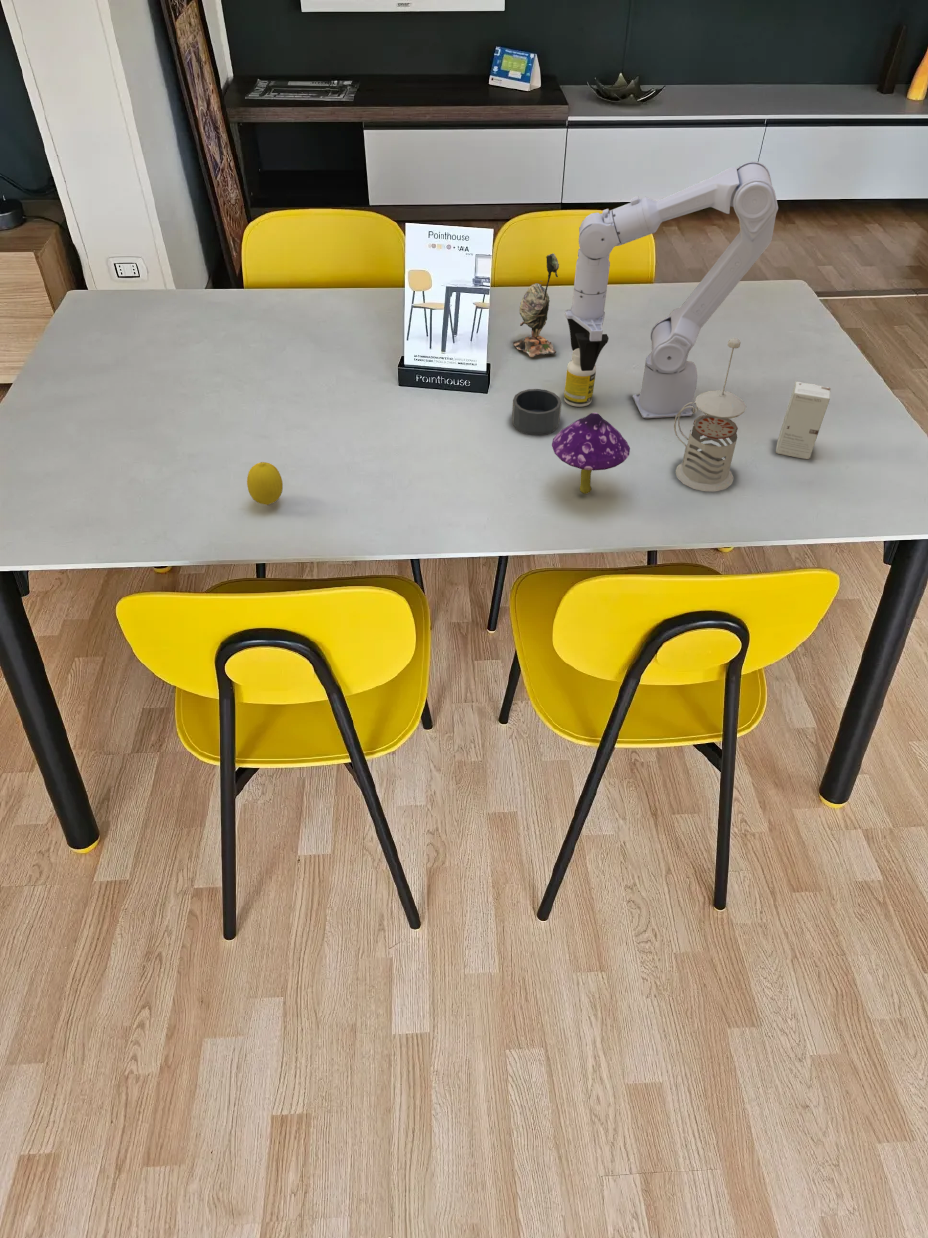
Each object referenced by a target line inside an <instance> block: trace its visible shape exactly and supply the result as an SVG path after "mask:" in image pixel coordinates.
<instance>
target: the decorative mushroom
mask: <svg viewBox="0 0 928 1238" xmlns="http://www.w3.org/2000/svg"><path fill="white" fill-rule="evenodd" d="M551 448H552V450H553V453H554V454H555V456H556V457H557V458H558V459H559V460H560V461H561V462H563V463H564V464H567V465H568V466H570V467H573V468H576V469H579V470H580V482H579V483H580V484H579V491H580V493H582V495H583V494H584V495H588V494H589V493H590V494H591V492H592V486H591V484H592V483H591V480H592V472H593V471H605V470H606V471H607V470H610V469H613V468H616V467H618V466H619V465H621V464H623V463H624V462H625V461H626V460H627V459H628V458H629V456H630V453H631V447H630V445H629V443H628V441H627V439H625V438H624V437H623V435H622V433H621V432H620V431H619V430H618V429H617V428H616V427H615V426H613V425H612V423H610V422H609V421H607V419H604V418H603V417H602V415H601V414H599V413H598V412H591V413H588V414H587V415H586V416H584V417H581V418H579V419H577V420H575V421H574V422H572V423H570V424H569V425H568V426H566V427H564V428H562V429H561V430H559V432H557V434H556V435H555V436H554V437H553V438H552V442H551Z"/></svg>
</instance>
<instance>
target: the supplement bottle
mask: <svg viewBox="0 0 928 1238" xmlns="http://www.w3.org/2000/svg"><path fill="white" fill-rule="evenodd" d="M596 373H597V365H596V364H595V366H594V368H593V370H592V371H582V370H581V367H580V350H579V348H577V349H575V350H574V351H573V350H572V354H571V360H570V361H569V362H568V363H567V366H566V373H565V384H564V390H563V391H564V392H563V400H564V402H565V403H566V404H567V405H568V406H572V407H578V408H581V407H582V408H583V407H586V406H589V405H590V404H591V403H592V401H593V396H594V388H595V383H596V382H595V381H596Z"/></svg>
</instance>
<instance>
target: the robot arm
mask: <svg viewBox="0 0 928 1238" xmlns="http://www.w3.org/2000/svg"><path fill="white" fill-rule="evenodd" d="M732 207H733V210H734V212H735V215H736V217H737V219H738V222H739V232H738V233H737V234H736V236H735V237H734V238H733V239H732V241H731V242H730V244H729V245H728V246H727V247H726V248H725V250H724V251H723V252H722V253H721V255H720V256H719V258H718V259H717V260H716V261H715V263H713V265H712V266H711V268H710V269H709V270H708V272H706V274H705V275H704V276H703V278H702V279H701V280H700V281H699V283H698V284H697V286H695V288H694V289H693V290H692V291H691V293H690V294H689V296H687V298H686V299H685V301H684V302H683V303H682V304H681V306H679V307H677V308H675V309H673V310H672V311H671V312H670V313H669V315H667V316H666V317H665V318H663V319H660V320H658V322H656V323H655V324H654V326H653V327H652V329H651V331H650V340H651V351H650V353H649V354H648V355H647V356H646V358H645V363H644V370H643V375H642V381H641V388H640V393H638V394H633V395H632V400H633V401H634V403H635V405H636V407H637V409H638V411H639V413H640V415H641V417H642V418H643V419H659V418H675V417H676V416H677V414H678V413H679V412H680V410H681V409H682V408H683V407H684V406H685V405H686V404H688V403H690V402H694V401H695V400H694V399H695V394H696V391H697V385H698V370H697V366H696V364H695V362H693V361H692V360H691V361H690V360H688V356H689V353H690V351H691V350H692V349H693V347H695V344H696V343H697V339H698V337H699V334H700V332H701V330H702V328H703V326H704V325H705V324H706V323H707V322H708V320H709V319H710V318H711V317H712V316H713V314H714V313H715V312H716V311H717V310H718V308H720V306H721V305H722V304H723V302H724V301H725V300H726V298H728V296H729V295H730V294H731V292H733V290H734V289H735V288H736V287H737V285H738V284H739V283H740V282H741V280H742V279H743V278H744V277H745V276H746V274H747V273H748V272H749V271H750V270H751V268H752V267H753V266H754V264H755V263H757V261H758V260H759V259H760V257H761V256H762V255H763V254H764V252H765V251H766V250H767V248H768V247H769V246H770V245H771V243H772V241H773V235H774V231H775V230H774V229H775V225H776V224H775V223H776V216H777V213H778V210H779V205H778V200H777V195H776V192H775V189H774V186H773V183H772V177H771V175H770V171H769V169H768V168H767V167H766V165H764V164H763V163H761V162H759V161H753V160H752V161H747V162H744V163H742V164H740V165H739V166H738V167H737V166H730V167H727V168H726V169H723V170H722V171H720V172H718V173H717V174H714V175H713V176H710V177H708V178H706V179H703V180H701V181H698V182H696V183H694V184H692V185H690V186H687V187H685V188H683V189H680V190H679V191H676V192H674V193H672V194H669V195H666V196H665V197H662V198H660V199H657V200H655V199H653V198H651V197H648V196H644V197H641V198H640V197H639V195H636V196H633V197H631V198H630V202H628V203H626V204H624V205H621V206H618V207H615V208H613V209H609V208H606V209H603V210H602V213H600V212H592V213H590V214H588V215H586V216H585V217H584V219H583V220H582V221H581V223H580V226H579V227H578V228H579V229H578V232H579V235H578V247H579V248H578V251H577V259H576V262H575V273H574V283H573V293H572V303H571V308H570V309H566V310H565V311H564V317H565V318H566V320H567V325H568V329H569V336H570V339H569V340H570V346H571V350H572V352H573V351H574V350H575V349H577V348H579V350H580V367H581V370H582V371H592V370H593V368H594V366H595V365H596V363H597V361H598V358H599V357H600V354H601V352H602V350H603V349H604V347H605V346H606V345H607V344H608V343H609V338H610V337H609V336H608V334H607V333H603V332H604V330H603V324H604V321H605V315H606V312H605V309H606V308H605V307H606V300H607V299H606V298H607V291H608V285H609V284H608V283H609V277H610V276H609V274H610V267H611V261H610V255H611V252H612V251H613V249H614V248H615V247H619V246H623V245H625V244H628V243H631V242H633V241H636V240H639V239H642V238H644V237H647V236H650V235H653V234H655V233H656V232H657V231H658V229H659V228H660V225H661V224H662V223H663V222H666V221H669V220H672V219H675V218H679V217H682V216H685V215H688V214H691V213H694V212H699V211H701V210H703V209H707V208H713V209H715V210H717V211H720V212H721V213H723V214H727V215H730V213H731V208H732ZM693 404H694V403H693ZM693 404H690V405H688V406H693ZM688 406H686V407H688ZM691 416H693V408H692V407H691V408H686V409H685V410H683V411H682V412H681V415H680V417H691ZM678 417H679V415H678Z"/></svg>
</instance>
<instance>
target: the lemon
mask: <svg viewBox="0 0 928 1238" xmlns="http://www.w3.org/2000/svg"><path fill="white" fill-rule="evenodd" d="M283 484H284V483H283V479H282V476H281V474H280V471H279V470H278V468H277V467H276V466H275V465H274V464H272V463H270V462H265V461H259V462H258V463H255V464H254V465H252V467H251V468H250V469H249V470H248V473H247V476H246V486H247V491H248V493H249V496H250V497H251V498H252V499H253V500H254V501H255V502H256V503H258V504H260V505H265V506H270V505H271V504H274V503H276V502H277V501H278V500H279V499H280V498H281V496H282V493H283V488H284V487H283V486H284V485H283Z"/></svg>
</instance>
